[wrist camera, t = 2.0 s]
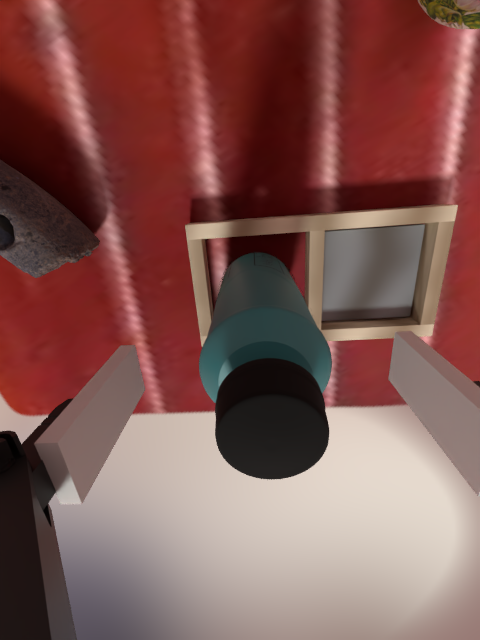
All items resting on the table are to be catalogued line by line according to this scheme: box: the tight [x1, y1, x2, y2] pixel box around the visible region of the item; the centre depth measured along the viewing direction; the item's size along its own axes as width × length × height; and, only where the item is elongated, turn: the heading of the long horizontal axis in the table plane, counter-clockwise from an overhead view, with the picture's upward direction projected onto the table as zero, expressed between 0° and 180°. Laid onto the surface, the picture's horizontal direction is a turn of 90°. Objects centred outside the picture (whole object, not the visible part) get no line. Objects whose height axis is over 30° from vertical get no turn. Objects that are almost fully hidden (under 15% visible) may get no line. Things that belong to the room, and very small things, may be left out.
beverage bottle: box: [199, 251, 332, 479], centre depth 19 cm, size 6×7×20 cm
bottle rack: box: [185, 204, 458, 347], centre depth 27 cm, size 22×11×2 cm, turn 94°
